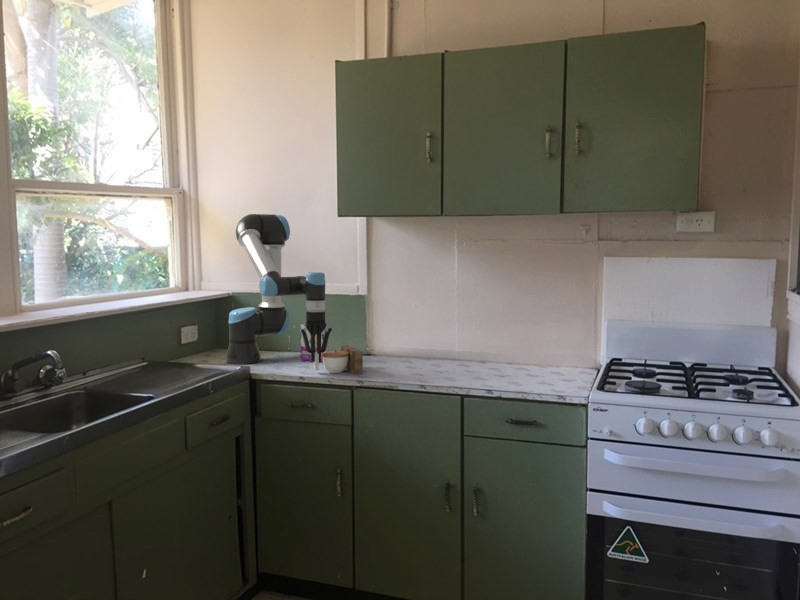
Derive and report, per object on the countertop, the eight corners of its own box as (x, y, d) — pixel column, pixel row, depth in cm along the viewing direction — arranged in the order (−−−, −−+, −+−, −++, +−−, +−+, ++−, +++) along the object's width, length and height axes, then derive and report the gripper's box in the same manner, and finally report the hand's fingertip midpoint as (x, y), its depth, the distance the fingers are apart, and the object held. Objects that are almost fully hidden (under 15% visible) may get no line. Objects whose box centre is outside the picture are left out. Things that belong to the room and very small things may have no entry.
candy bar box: (328, 360, 288) (328, 324, 287) (323, 362, 284) (323, 325, 282) (305, 359, 292) (305, 323, 290) (300, 361, 287) (300, 324, 285)
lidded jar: (327, 368, 270) (327, 346, 270) (352, 369, 268) (352, 347, 267) (318, 373, 260) (318, 350, 259) (344, 374, 258) (343, 351, 257)
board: (341, 366, 274) (340, 345, 273) (347, 366, 275) (347, 345, 275) (355, 374, 258) (355, 352, 257) (362, 374, 259) (362, 351, 258)
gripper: (302, 312, 252) (302, 372, 254) (334, 311, 257) (334, 370, 259) (297, 310, 259) (297, 369, 261) (328, 309, 264) (328, 366, 266)
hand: (316, 369), depth 260 cm, fingers closed
